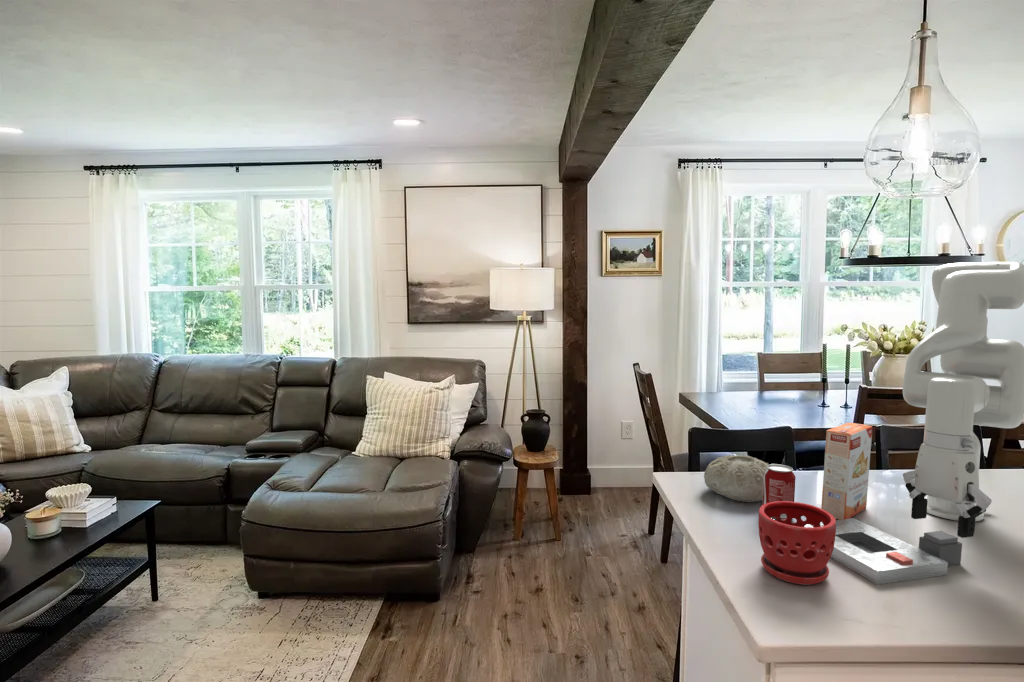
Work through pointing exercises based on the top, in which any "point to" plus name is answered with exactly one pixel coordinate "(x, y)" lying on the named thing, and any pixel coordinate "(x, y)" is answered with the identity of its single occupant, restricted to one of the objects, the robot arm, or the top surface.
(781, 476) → the soda can
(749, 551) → the top surface
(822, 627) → the top surface
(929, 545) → the plug
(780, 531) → the plant pot
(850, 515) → the cracker box
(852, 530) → the socket
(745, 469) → the decorative shell
